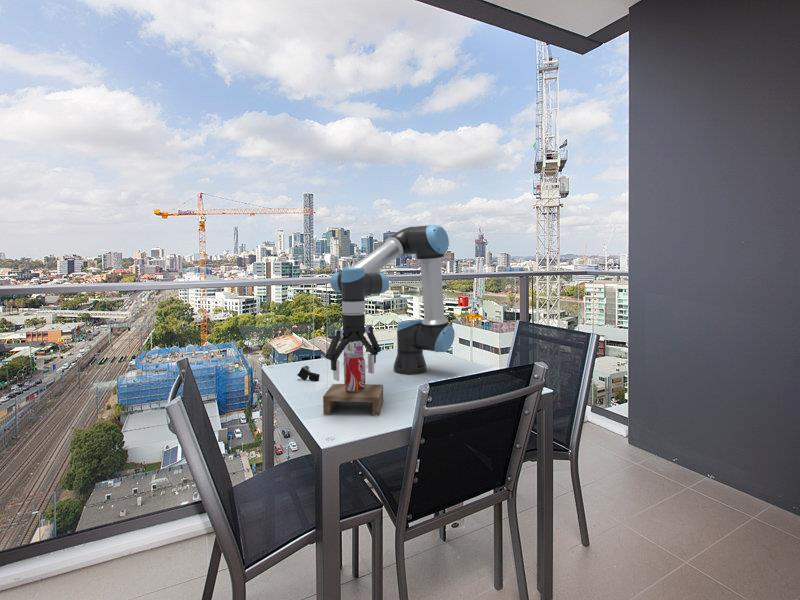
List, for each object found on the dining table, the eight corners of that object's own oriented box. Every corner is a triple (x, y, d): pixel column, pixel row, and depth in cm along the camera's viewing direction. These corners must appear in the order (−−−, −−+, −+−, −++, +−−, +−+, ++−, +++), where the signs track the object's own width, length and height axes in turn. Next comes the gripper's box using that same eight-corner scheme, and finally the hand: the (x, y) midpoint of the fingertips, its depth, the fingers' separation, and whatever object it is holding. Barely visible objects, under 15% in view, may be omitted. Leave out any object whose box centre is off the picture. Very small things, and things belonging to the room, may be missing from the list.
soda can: (356, 394, 132) (356, 358, 131) (340, 391, 136) (339, 355, 135) (369, 388, 138) (369, 354, 137) (353, 385, 142) (352, 351, 141)
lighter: (315, 385, 172) (322, 375, 171) (313, 387, 169) (320, 376, 168) (299, 373, 173) (305, 363, 172) (296, 375, 171) (303, 364, 170)
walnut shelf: (383, 401, 144) (383, 384, 143) (378, 415, 130) (378, 397, 130) (333, 400, 145) (332, 383, 145) (323, 414, 131) (323, 396, 131)
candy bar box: (364, 368, 190) (363, 333, 188) (355, 370, 187) (354, 335, 186) (352, 364, 199) (351, 330, 197) (343, 365, 196) (342, 331, 194)
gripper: (378, 310, 145) (378, 368, 147) (313, 315, 130) (315, 380, 132) (390, 312, 139) (390, 372, 141) (324, 317, 124) (326, 385, 126)
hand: (354, 376), depth 137 cm, fingers open, 13 cm apart
